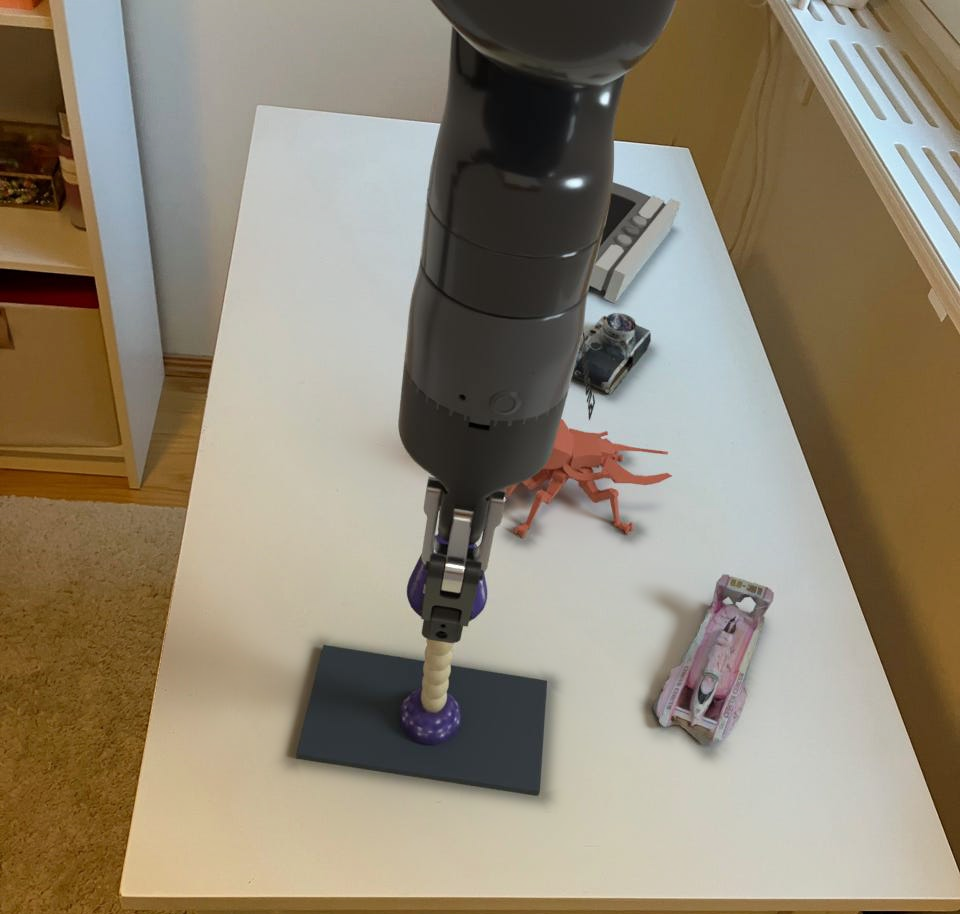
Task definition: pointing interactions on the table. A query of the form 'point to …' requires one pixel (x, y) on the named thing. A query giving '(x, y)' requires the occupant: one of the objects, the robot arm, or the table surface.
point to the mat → (385, 747)
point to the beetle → (584, 466)
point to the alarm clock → (630, 237)
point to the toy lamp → (434, 674)
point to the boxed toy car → (715, 664)
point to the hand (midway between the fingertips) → (446, 600)
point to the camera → (612, 351)
